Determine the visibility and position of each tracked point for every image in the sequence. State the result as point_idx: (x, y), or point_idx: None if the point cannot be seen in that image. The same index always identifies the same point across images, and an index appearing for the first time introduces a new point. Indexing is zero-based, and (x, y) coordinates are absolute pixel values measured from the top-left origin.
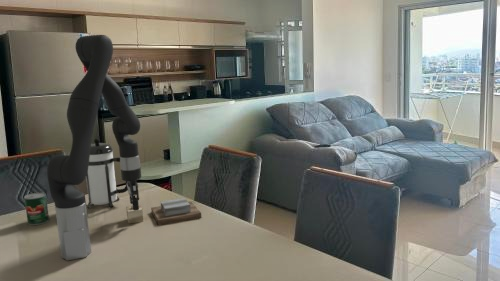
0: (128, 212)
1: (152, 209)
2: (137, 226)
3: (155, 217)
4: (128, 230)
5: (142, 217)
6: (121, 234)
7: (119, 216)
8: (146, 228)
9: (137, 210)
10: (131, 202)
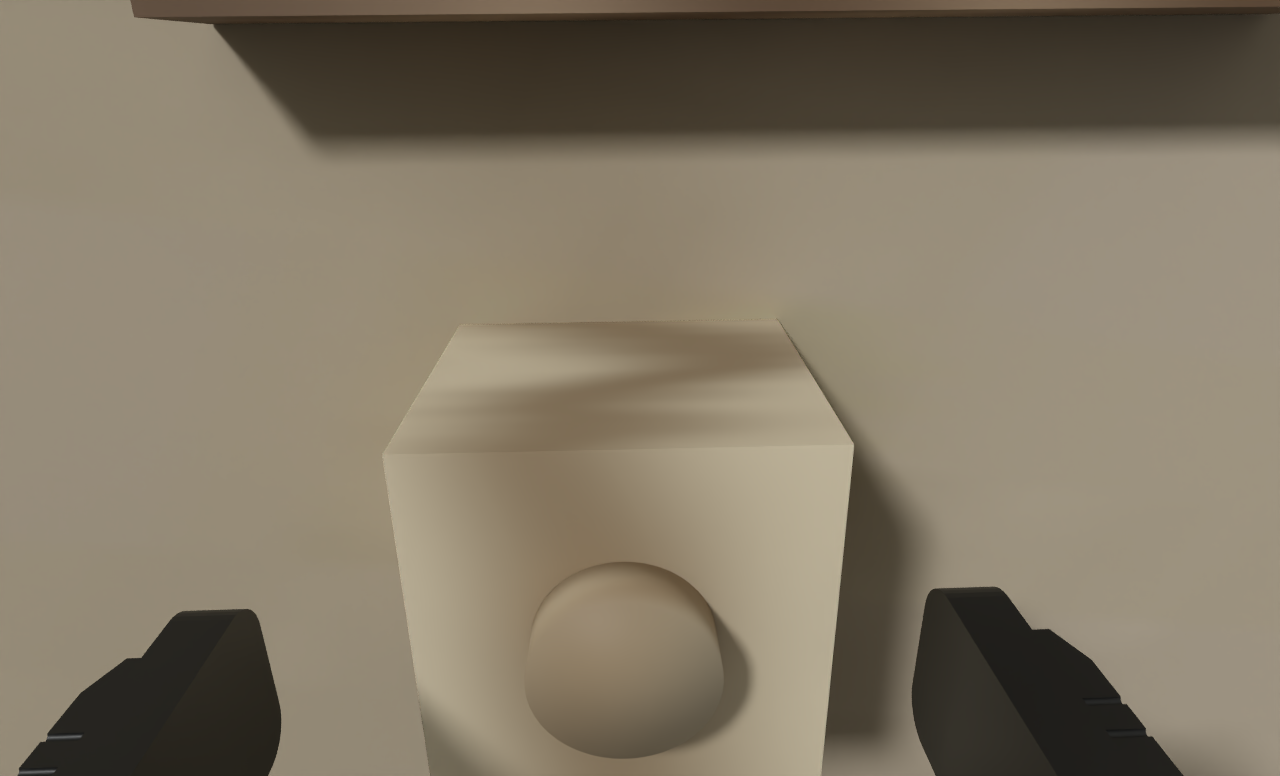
0: (815, 756)
1: (338, 9)
2: (1021, 461)
3: (857, 14)
4: (1113, 615)
5: (796, 359)
6: (1210, 717)
7: (278, 697)
8: (1257, 314)
9: (840, 568)
10: (259, 746)
